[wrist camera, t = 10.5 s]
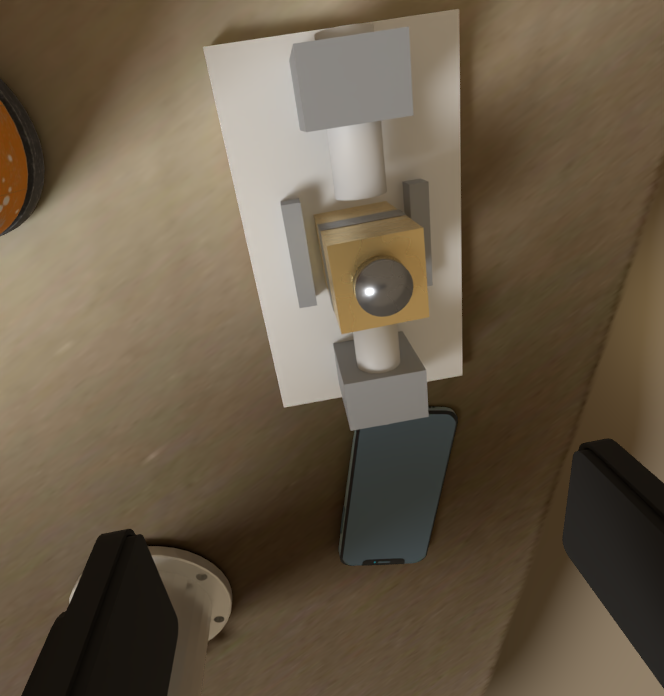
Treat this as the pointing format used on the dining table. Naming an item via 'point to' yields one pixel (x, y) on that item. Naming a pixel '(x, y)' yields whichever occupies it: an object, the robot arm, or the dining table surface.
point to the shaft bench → (312, 179)
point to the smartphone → (395, 489)
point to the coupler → (373, 266)
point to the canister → (18, 162)
